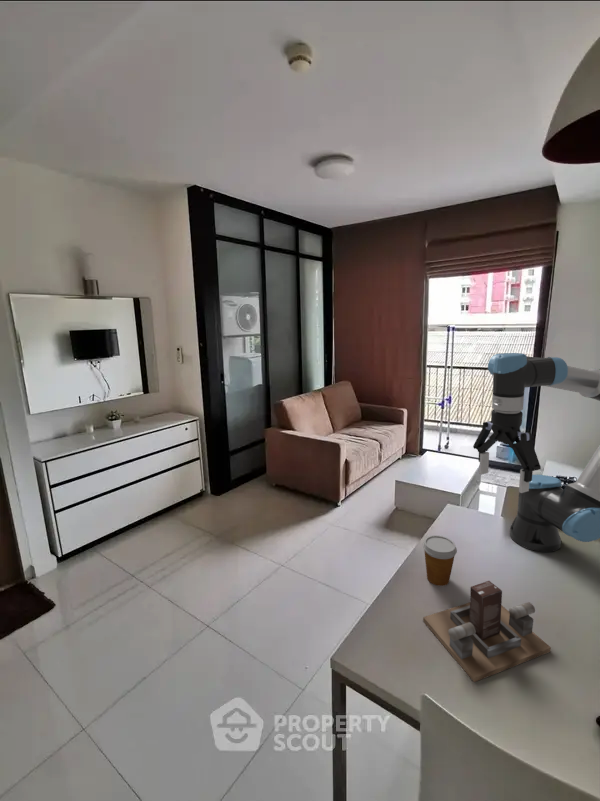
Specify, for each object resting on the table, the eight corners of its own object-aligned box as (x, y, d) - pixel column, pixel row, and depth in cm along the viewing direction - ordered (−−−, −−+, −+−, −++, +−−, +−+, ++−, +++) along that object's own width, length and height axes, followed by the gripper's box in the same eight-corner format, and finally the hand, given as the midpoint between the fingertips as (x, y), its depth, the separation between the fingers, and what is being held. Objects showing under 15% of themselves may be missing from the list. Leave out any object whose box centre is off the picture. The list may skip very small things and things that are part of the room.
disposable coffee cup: (457, 591, 108) (460, 554, 106) (423, 588, 110) (424, 551, 108) (451, 570, 117) (453, 535, 115) (419, 567, 119) (421, 533, 117)
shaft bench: (492, 598, 105) (494, 574, 104) (553, 650, 88) (556, 623, 87) (420, 621, 98) (421, 596, 97) (471, 683, 81) (473, 654, 80)
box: (485, 620, 96) (489, 579, 94) (500, 634, 92) (504, 591, 90) (466, 627, 94) (469, 585, 92) (480, 641, 90) (484, 598, 88)
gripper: (462, 403, 114) (460, 469, 118) (539, 423, 91) (532, 503, 95) (481, 400, 116) (478, 464, 121) (561, 418, 93) (554, 497, 98)
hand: (502, 482), depth 108 cm, fingers open, 13 cm apart
